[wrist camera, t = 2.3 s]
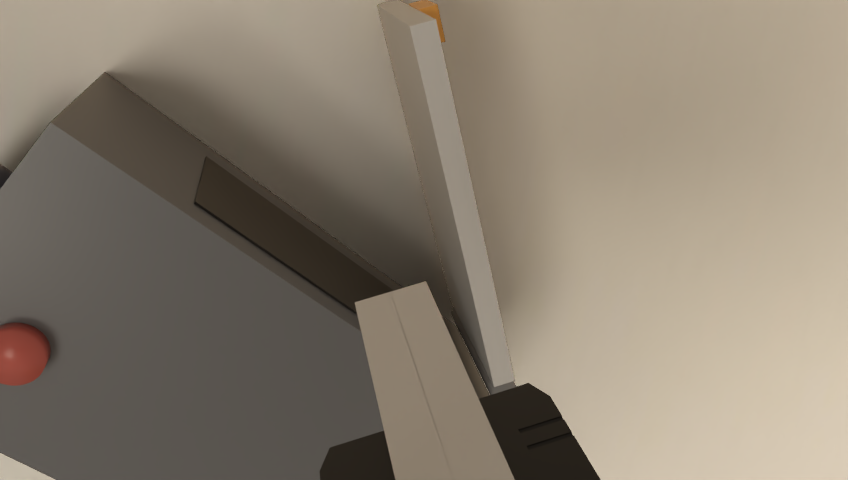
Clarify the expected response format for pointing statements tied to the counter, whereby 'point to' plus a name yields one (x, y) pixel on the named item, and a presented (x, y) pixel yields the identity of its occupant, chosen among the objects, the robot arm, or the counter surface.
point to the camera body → (172, 310)
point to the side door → (447, 182)
